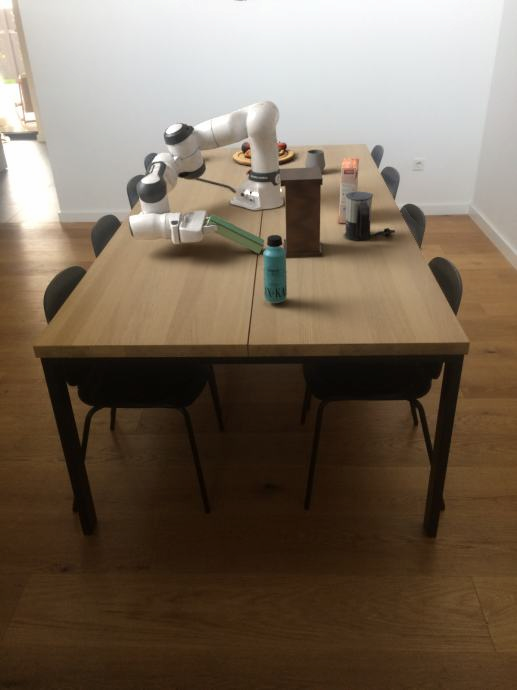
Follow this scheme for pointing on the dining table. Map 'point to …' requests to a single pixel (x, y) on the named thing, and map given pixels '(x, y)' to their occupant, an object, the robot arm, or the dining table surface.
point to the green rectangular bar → (236, 234)
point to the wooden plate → (245, 154)
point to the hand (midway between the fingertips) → (218, 224)
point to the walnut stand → (302, 211)
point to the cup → (315, 159)
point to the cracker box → (347, 184)
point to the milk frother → (360, 216)
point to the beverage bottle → (275, 270)
